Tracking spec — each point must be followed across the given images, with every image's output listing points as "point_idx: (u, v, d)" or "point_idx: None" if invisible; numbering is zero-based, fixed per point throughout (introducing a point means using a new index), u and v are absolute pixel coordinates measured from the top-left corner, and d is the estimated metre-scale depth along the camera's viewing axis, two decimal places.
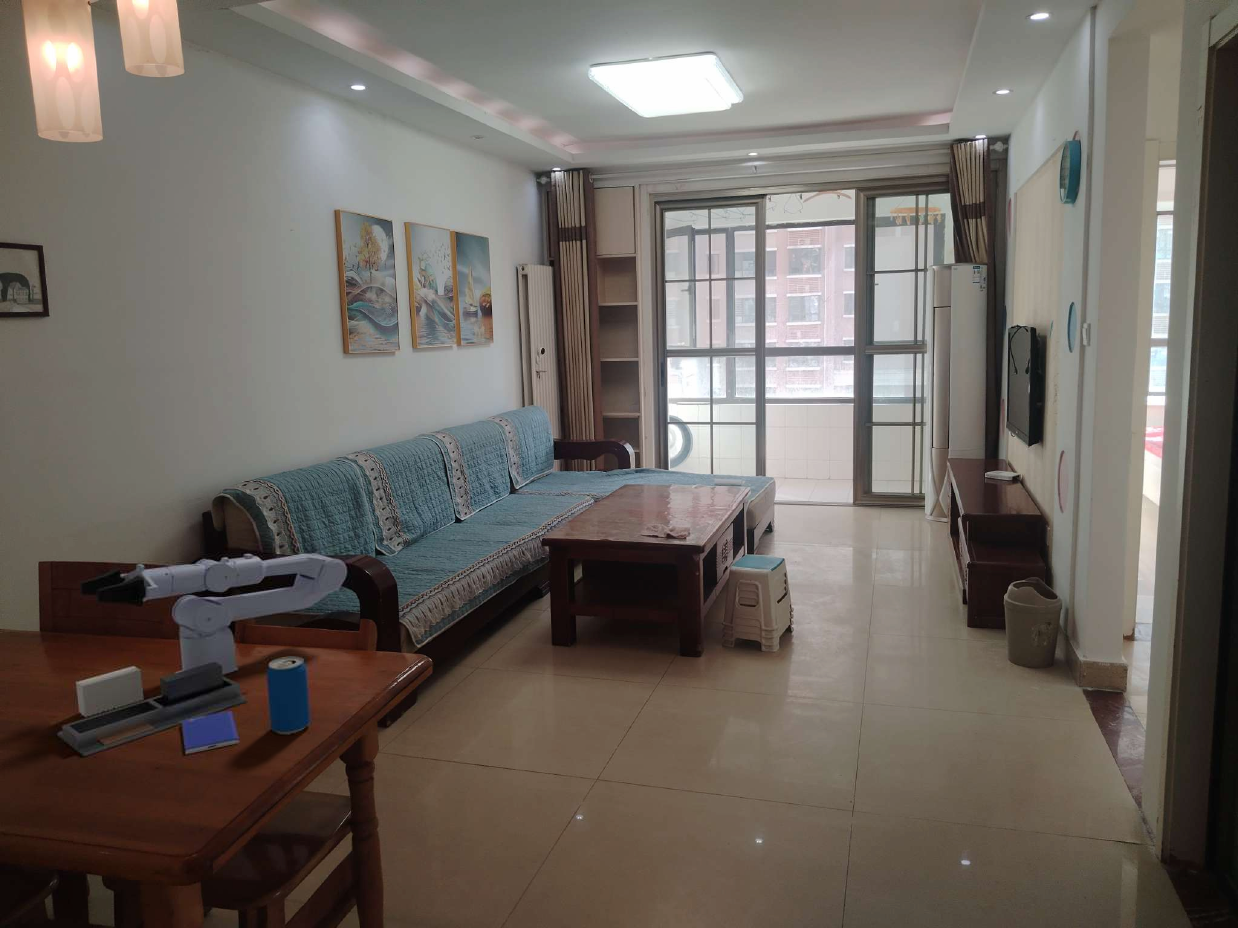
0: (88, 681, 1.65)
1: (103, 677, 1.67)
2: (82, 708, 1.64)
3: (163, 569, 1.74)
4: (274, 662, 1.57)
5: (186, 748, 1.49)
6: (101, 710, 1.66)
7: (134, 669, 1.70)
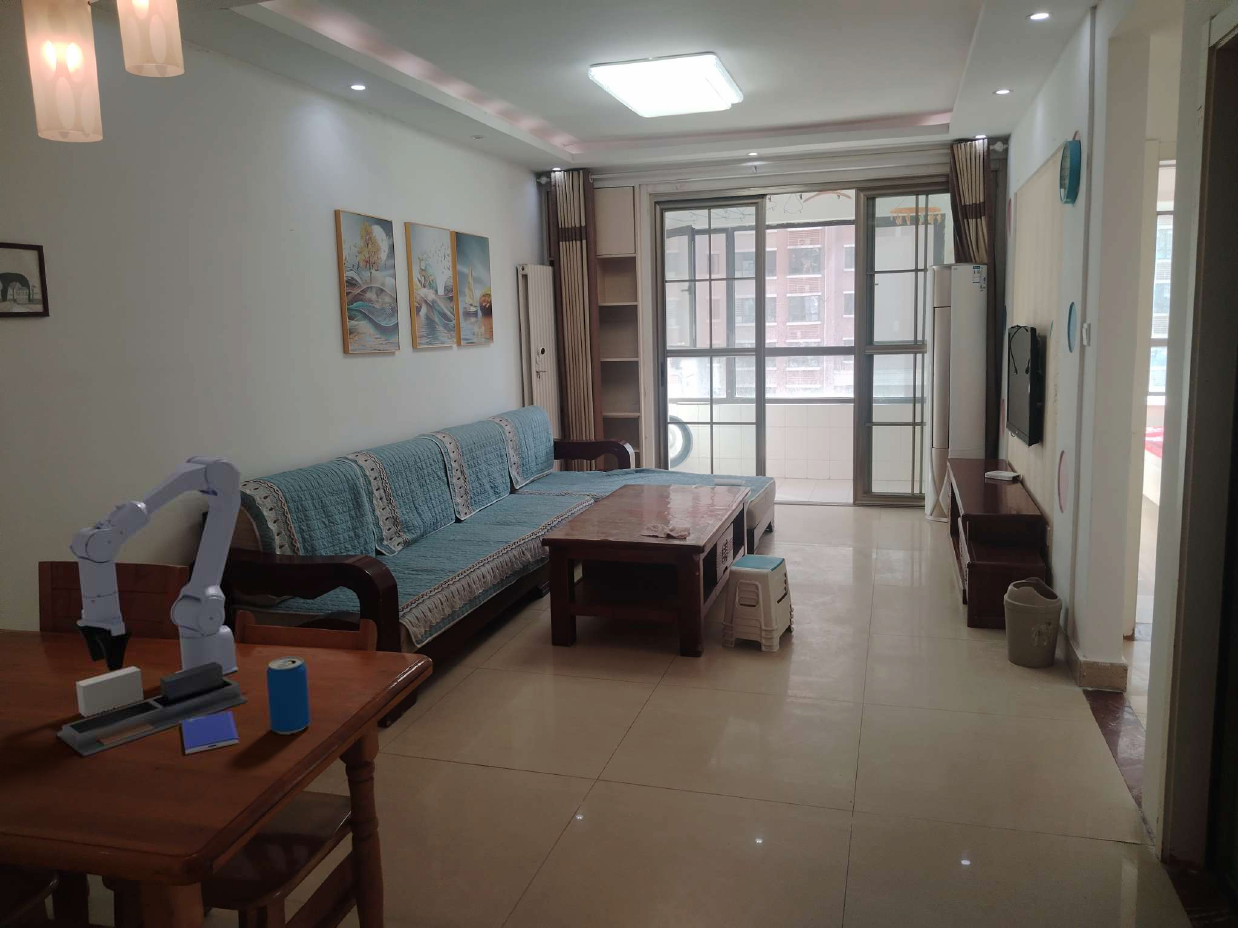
0: (88, 681, 1.65)
1: (103, 677, 1.67)
2: (82, 708, 1.64)
3: (86, 601, 1.62)
4: (274, 662, 1.57)
5: (186, 747, 1.49)
6: (101, 710, 1.66)
7: (134, 669, 1.70)
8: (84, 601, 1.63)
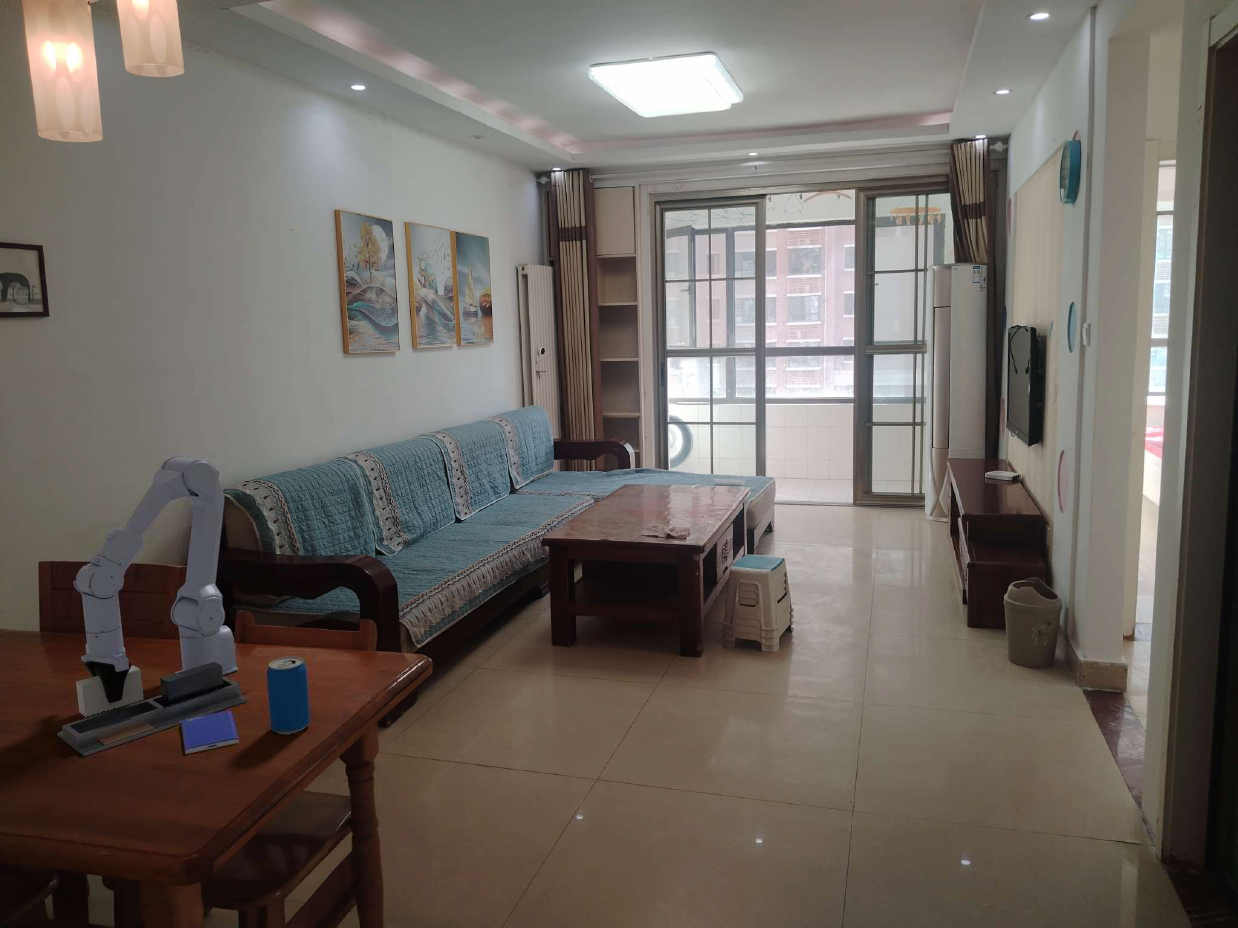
0: (88, 681, 1.65)
1: None
2: (82, 707, 1.64)
3: (90, 637, 1.64)
4: (274, 662, 1.57)
5: (186, 748, 1.49)
6: (101, 709, 1.65)
7: (134, 668, 1.70)
8: (88, 637, 1.64)
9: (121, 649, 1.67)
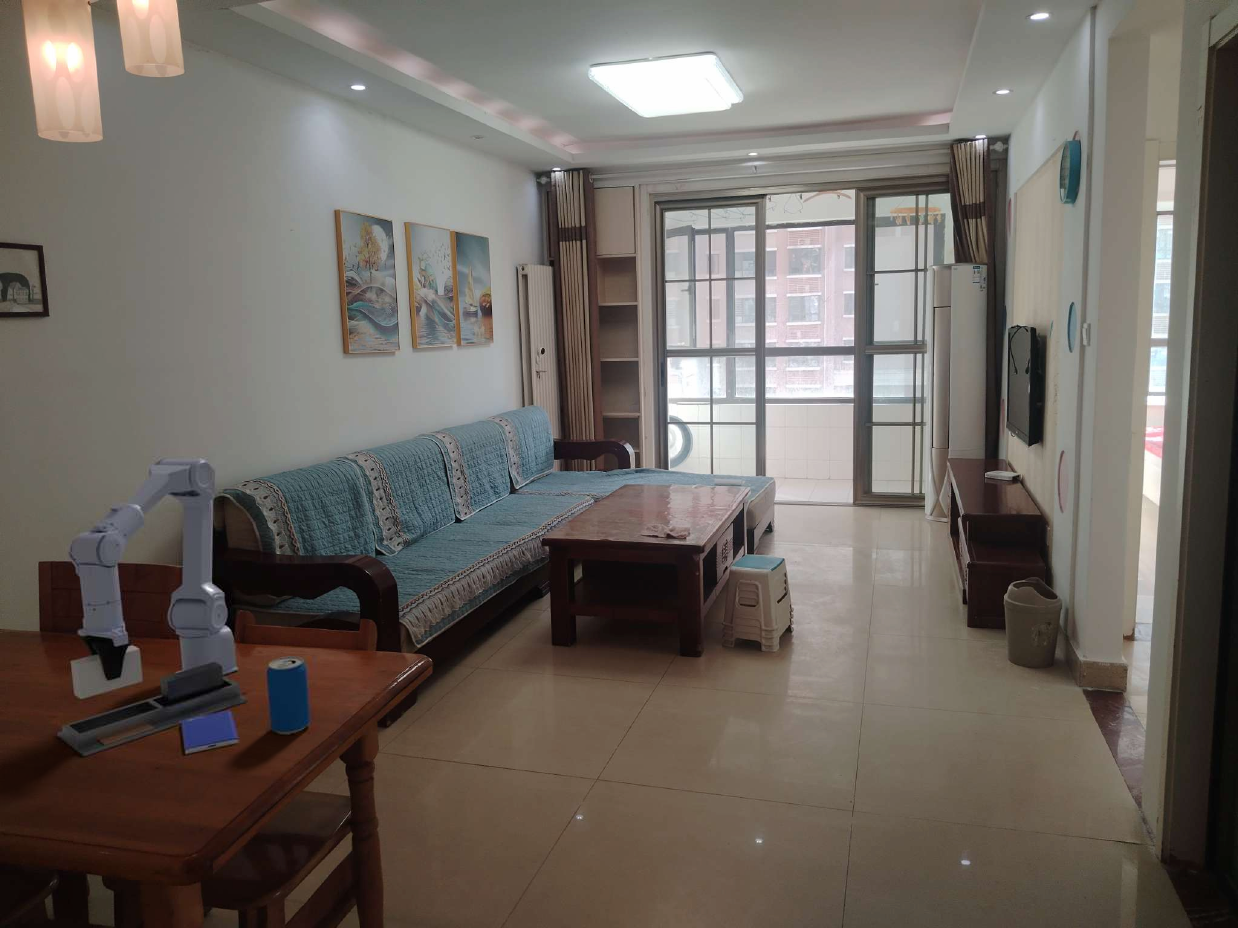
0: (84, 660, 1.54)
1: None
2: (77, 688, 1.54)
3: (87, 610, 1.53)
4: (274, 662, 1.57)
5: (186, 748, 1.49)
6: (97, 691, 1.55)
7: (133, 648, 1.60)
8: (85, 609, 1.54)
9: (120, 623, 1.57)
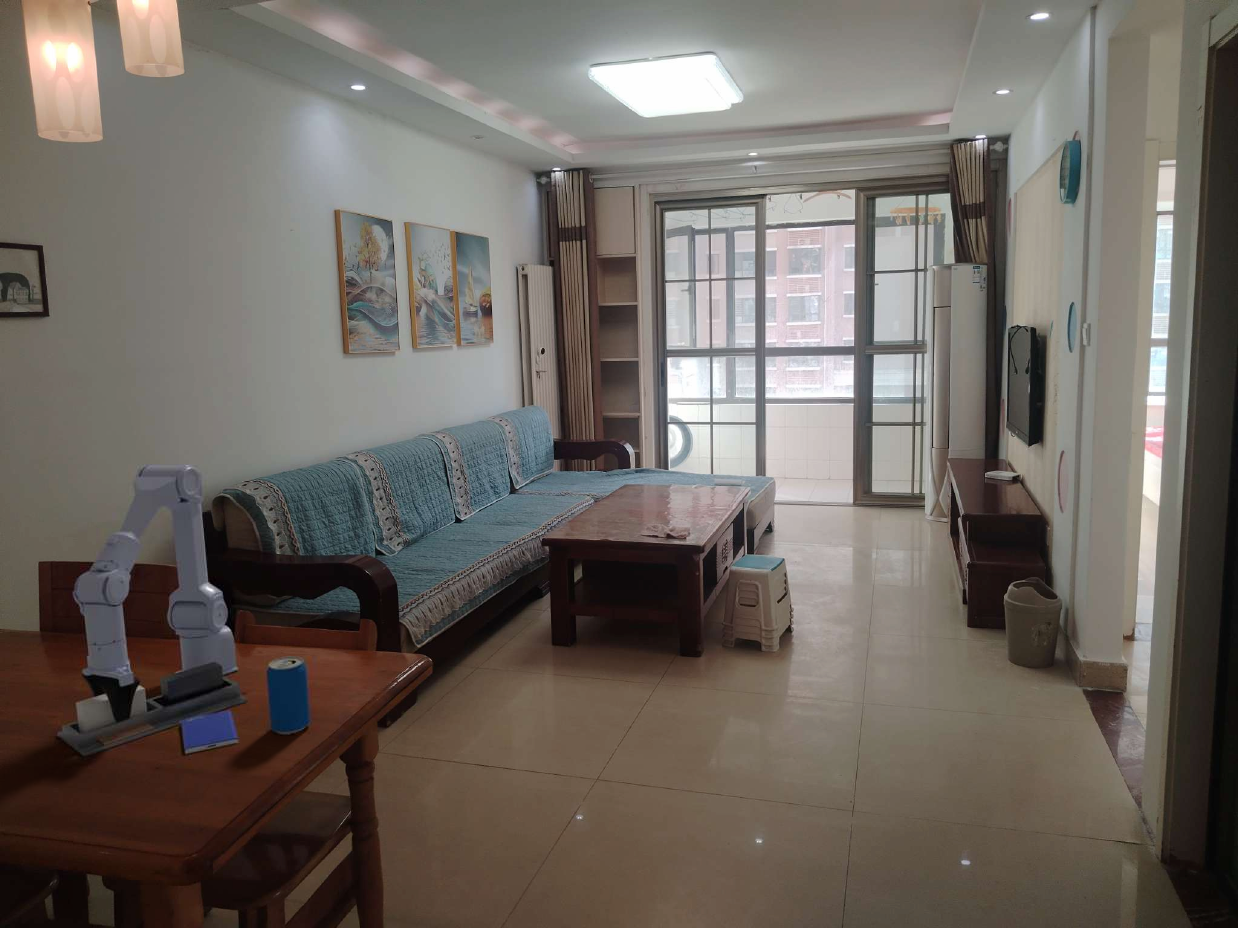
0: (89, 702, 1.54)
1: (105, 696, 1.56)
2: (82, 730, 1.53)
3: (92, 649, 1.53)
4: (274, 662, 1.57)
5: (186, 747, 1.49)
6: None
7: (138, 688, 1.60)
8: (90, 649, 1.53)
9: (125, 662, 1.56)
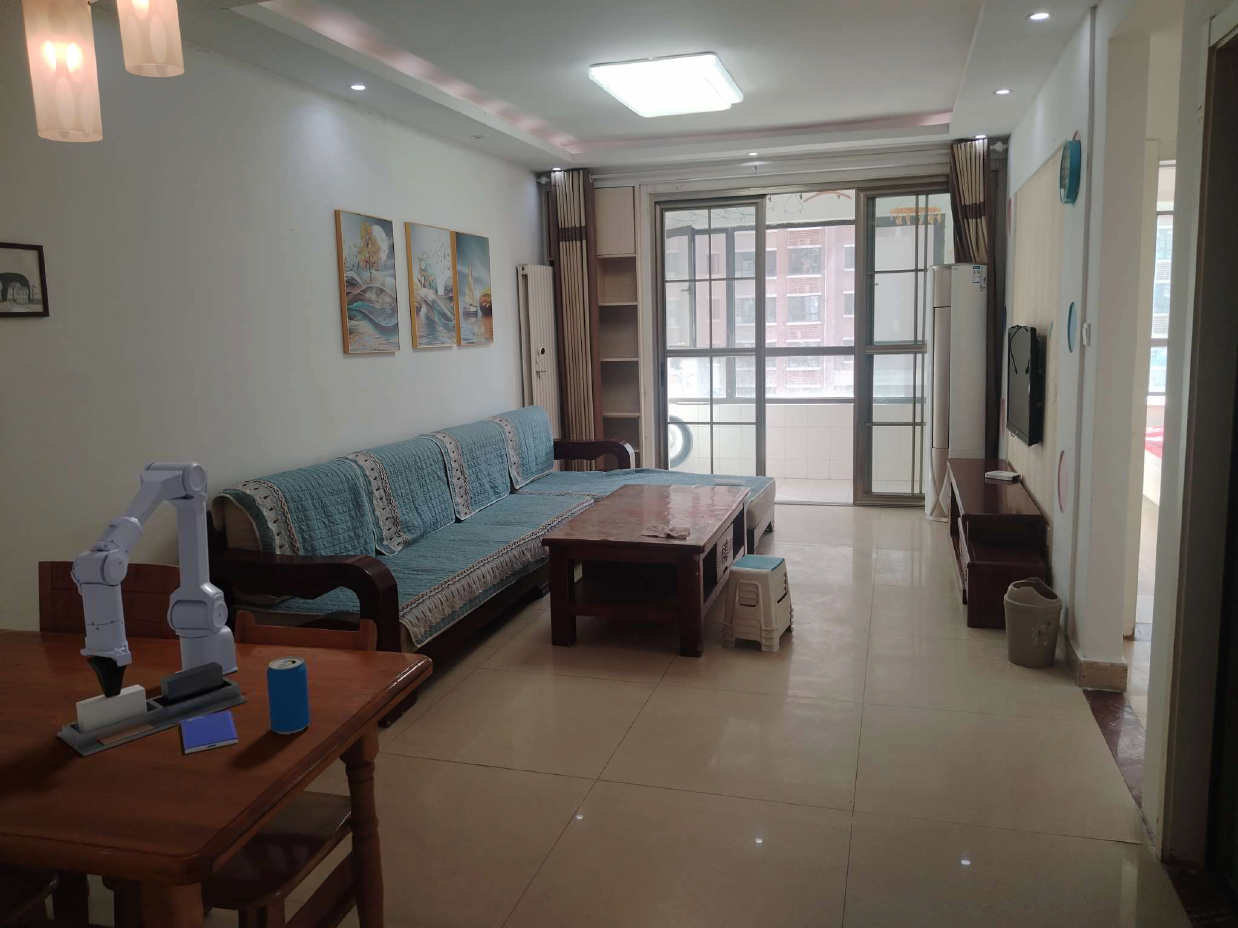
0: (89, 702, 1.54)
1: None
2: (82, 730, 1.53)
3: (90, 629, 1.52)
4: (274, 662, 1.57)
5: (185, 748, 1.49)
6: None
7: (138, 688, 1.60)
8: (88, 629, 1.52)
9: (123, 642, 1.55)
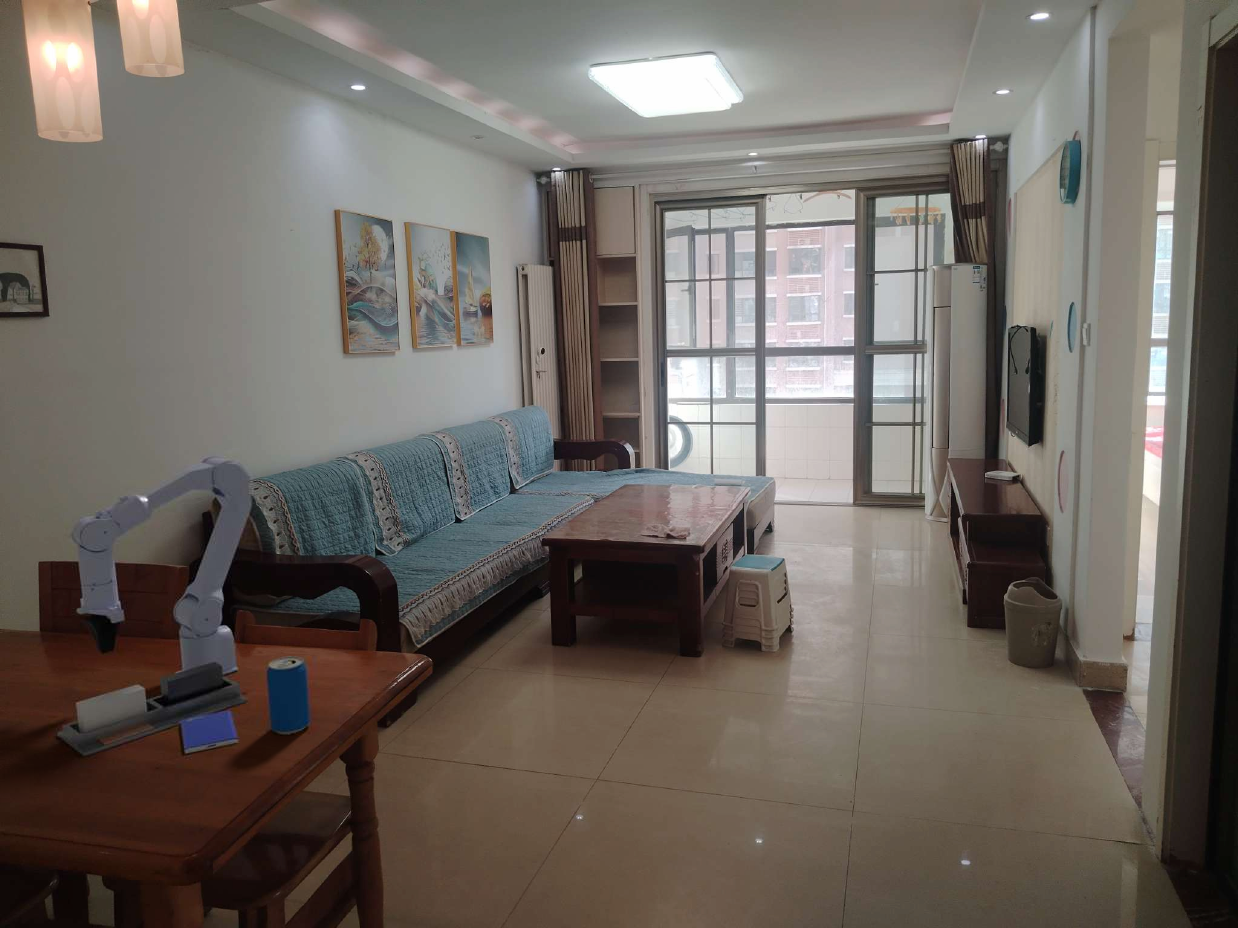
0: (89, 702, 1.54)
1: (105, 696, 1.56)
2: (82, 730, 1.53)
3: (85, 590, 1.65)
4: (274, 662, 1.57)
5: (185, 747, 1.49)
6: None
7: (138, 688, 1.60)
8: (83, 589, 1.66)
9: (116, 602, 1.69)
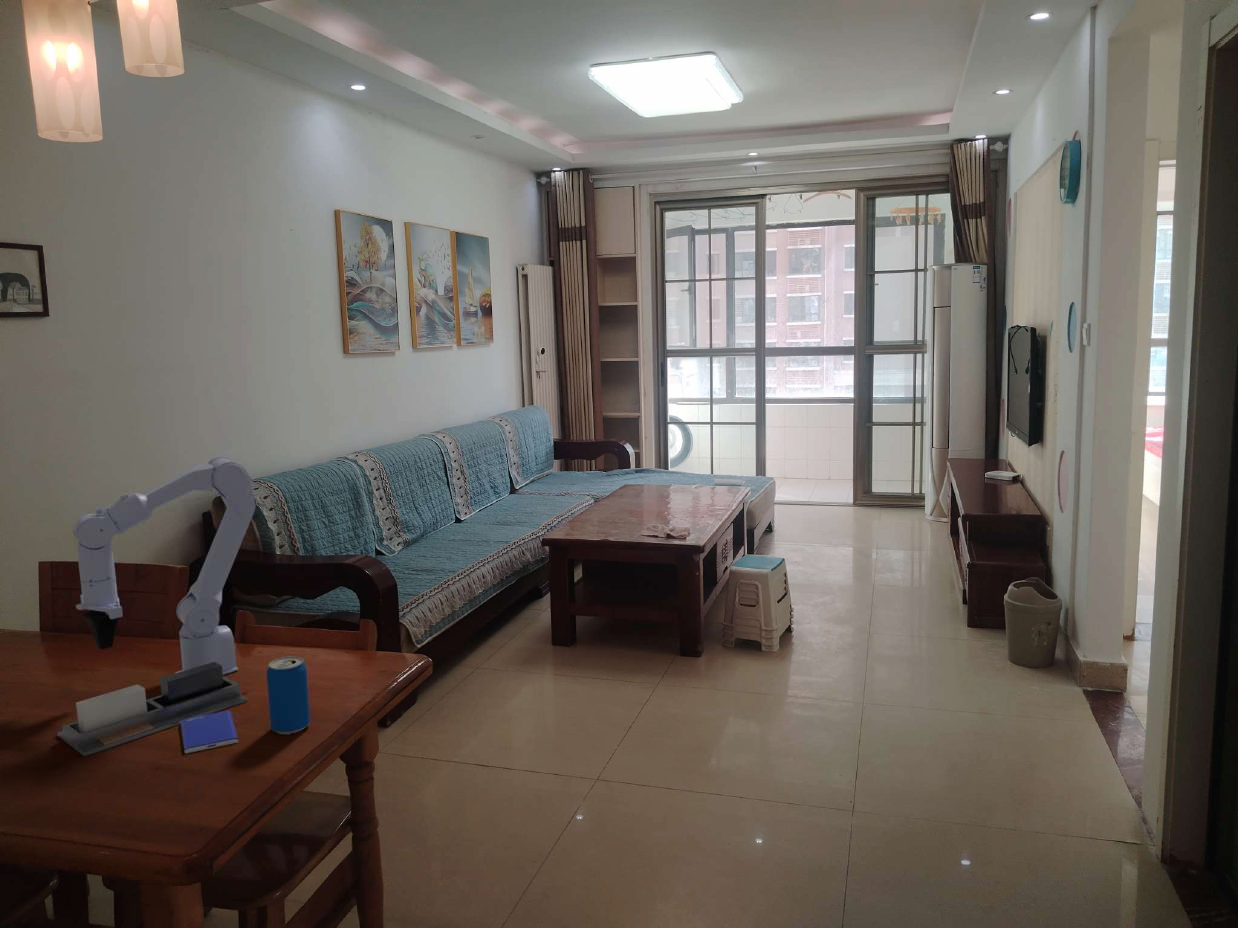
0: (89, 702, 1.54)
1: (105, 696, 1.56)
2: (82, 730, 1.53)
3: (84, 586, 1.68)
4: (274, 662, 1.57)
5: (185, 747, 1.49)
6: None
7: (138, 688, 1.60)
8: (83, 586, 1.68)
9: (115, 598, 1.71)
